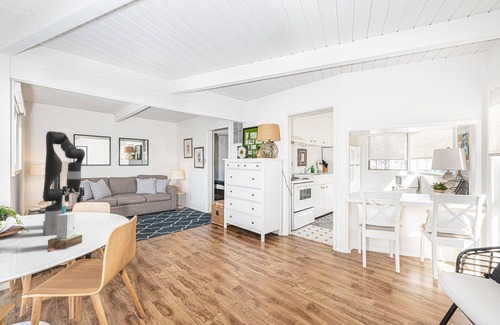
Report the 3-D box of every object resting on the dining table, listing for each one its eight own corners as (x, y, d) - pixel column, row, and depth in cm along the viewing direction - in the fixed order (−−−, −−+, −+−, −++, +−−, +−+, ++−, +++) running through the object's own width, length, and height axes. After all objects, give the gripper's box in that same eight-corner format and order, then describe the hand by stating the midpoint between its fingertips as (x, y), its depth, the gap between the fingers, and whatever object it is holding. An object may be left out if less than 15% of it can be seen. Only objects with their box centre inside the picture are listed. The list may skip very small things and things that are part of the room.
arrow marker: (51, 251, 131) (51, 250, 131) (46, 251, 131) (46, 249, 131) (59, 248, 137) (59, 246, 137) (55, 248, 137) (55, 246, 137)
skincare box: (66, 238, 139) (67, 215, 139) (55, 239, 138) (56, 215, 138) (74, 234, 147) (75, 212, 147) (64, 234, 146) (65, 212, 146)
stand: (47, 247, 137) (48, 239, 137) (65, 241, 149) (65, 233, 149) (65, 249, 136) (66, 240, 136) (82, 242, 148) (82, 234, 148)
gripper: (58, 177, 145) (57, 202, 145) (78, 179, 144) (77, 203, 144) (69, 177, 153) (68, 200, 153) (88, 178, 152) (87, 201, 151)
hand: (72, 202), depth 148 cm, fingers open, 8 cm apart
